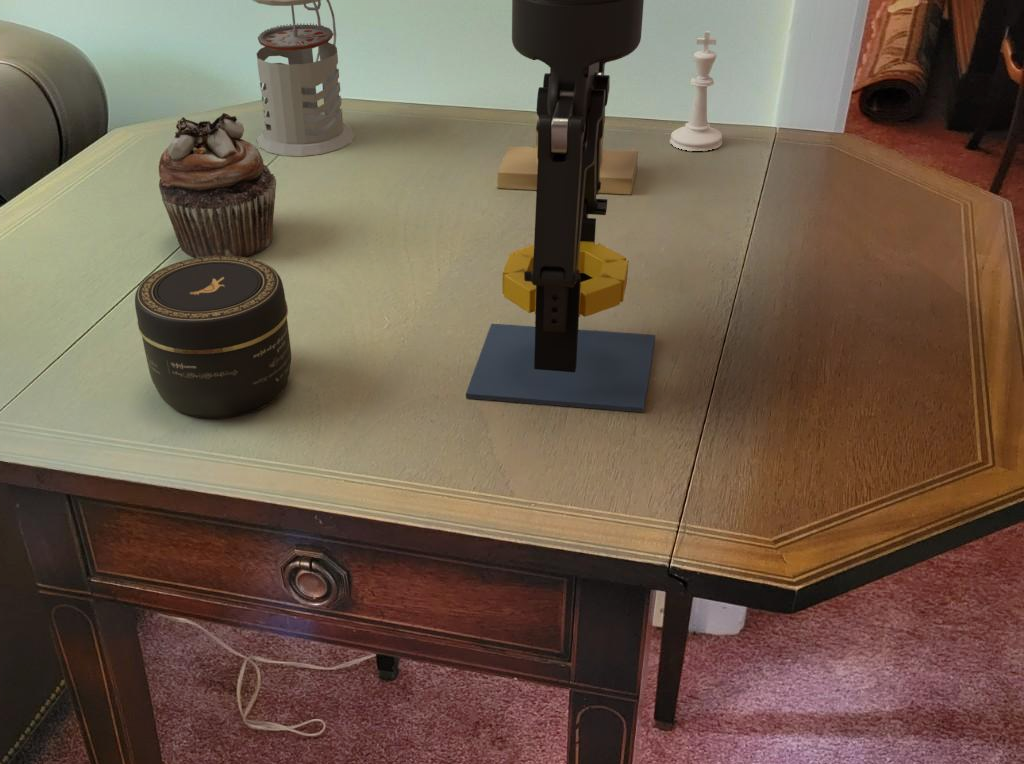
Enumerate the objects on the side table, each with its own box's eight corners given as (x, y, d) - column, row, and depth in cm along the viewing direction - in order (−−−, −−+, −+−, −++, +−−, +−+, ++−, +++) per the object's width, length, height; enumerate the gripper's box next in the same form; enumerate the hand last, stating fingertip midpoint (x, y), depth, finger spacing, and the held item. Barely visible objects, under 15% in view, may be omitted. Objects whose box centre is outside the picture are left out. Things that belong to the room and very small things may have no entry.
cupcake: (174, 272, 99) (151, 150, 93) (166, 225, 107) (145, 108, 100) (290, 257, 101) (275, 135, 94) (275, 211, 108) (260, 95, 101)
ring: (630, 265, 84) (632, 243, 83) (619, 320, 78) (620, 297, 77) (515, 259, 85) (515, 237, 84) (495, 312, 79) (495, 289, 78)
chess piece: (671, 132, 119) (681, 22, 112) (722, 134, 118) (736, 23, 111) (668, 151, 115) (678, 39, 108) (721, 152, 114) (735, 40, 108)
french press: (238, 149, 120) (197, -144, 103) (293, 110, 128) (263, -168, 111) (328, 161, 116) (300, -141, 100) (378, 119, 124) (360, -166, 108)
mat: (655, 339, 88) (655, 334, 88) (643, 412, 81) (644, 407, 80) (491, 328, 90) (491, 323, 90) (465, 398, 83) (465, 393, 83)
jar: (313, 356, 88) (301, 256, 83) (271, 430, 81) (257, 326, 76) (182, 346, 90) (164, 248, 85) (131, 419, 82) (107, 316, 77)
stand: (637, 167, 112) (647, 29, 104) (631, 194, 108) (641, 52, 100) (508, 161, 115) (509, 26, 107) (497, 188, 110) (497, 48, 102)
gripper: (539, -69, 77) (532, 266, 92) (480, 28, 62) (483, 411, 77) (658, -68, 76) (632, 272, 91) (628, 31, 61) (602, 421, 75)
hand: (563, 336), depth 84 cm, fingers closed on ring, 8 cm apart
